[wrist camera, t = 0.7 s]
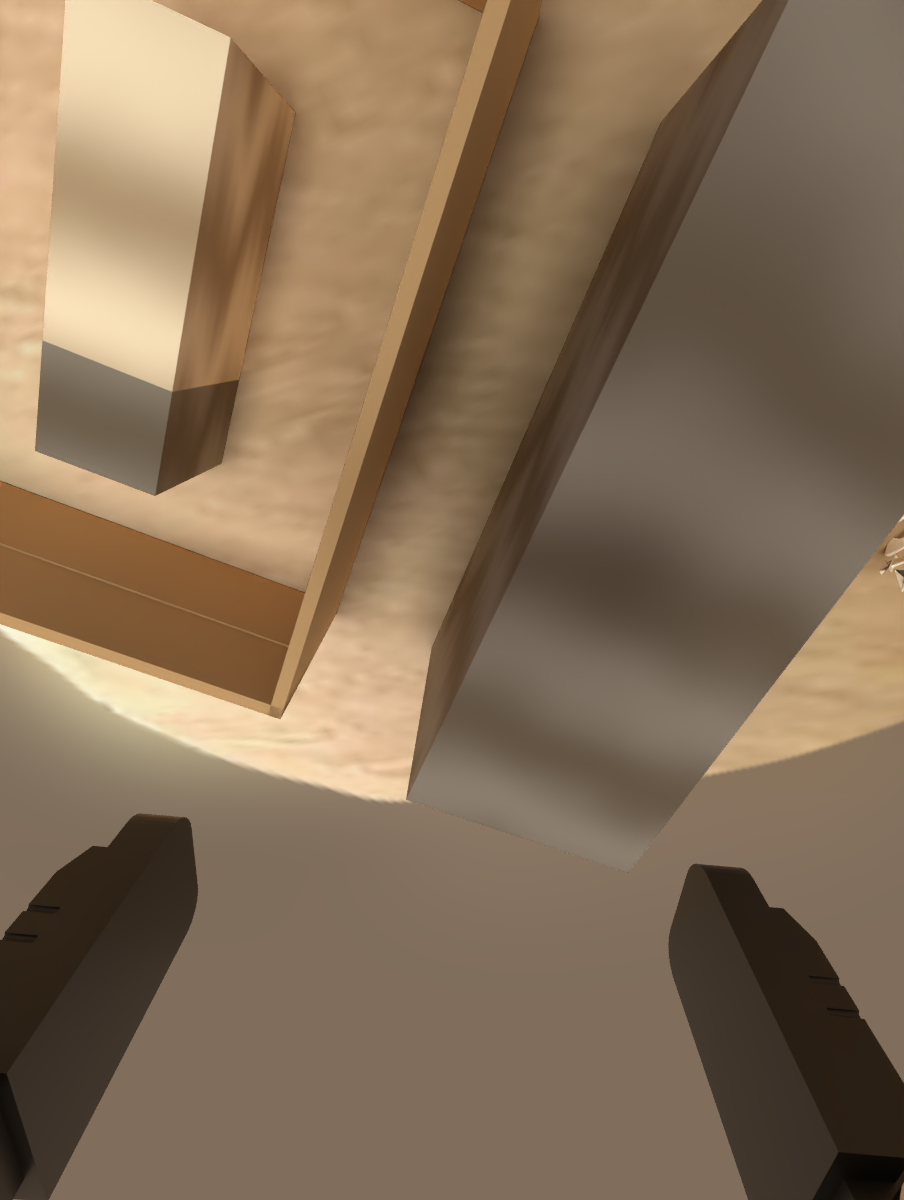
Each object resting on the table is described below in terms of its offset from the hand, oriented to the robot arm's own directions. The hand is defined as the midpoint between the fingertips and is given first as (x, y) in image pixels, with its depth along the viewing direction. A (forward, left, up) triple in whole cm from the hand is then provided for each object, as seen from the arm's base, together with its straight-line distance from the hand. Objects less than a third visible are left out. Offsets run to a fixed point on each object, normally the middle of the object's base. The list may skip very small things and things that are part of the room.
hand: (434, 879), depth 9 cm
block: (-5, -14, -20) cm, 25 cm away
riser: (-5, +5, -20) cm, 21 cm away
